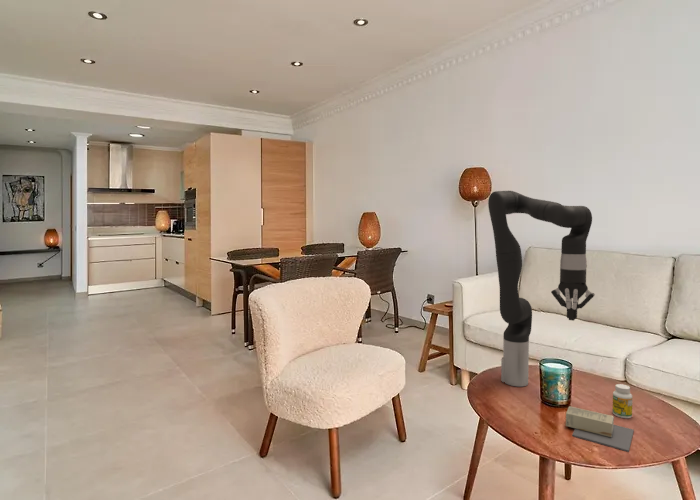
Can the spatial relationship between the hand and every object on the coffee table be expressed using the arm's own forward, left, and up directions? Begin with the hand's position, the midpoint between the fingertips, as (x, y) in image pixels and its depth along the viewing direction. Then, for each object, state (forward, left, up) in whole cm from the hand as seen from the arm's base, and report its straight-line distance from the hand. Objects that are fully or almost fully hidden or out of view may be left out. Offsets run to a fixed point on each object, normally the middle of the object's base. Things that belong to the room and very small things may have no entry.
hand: (571, 319), depth 137 cm
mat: (+11, -10, -31) cm, 34 cm away
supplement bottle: (+14, +7, -31) cm, 35 cm away
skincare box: (+1, -10, -28) cm, 30 cm away
